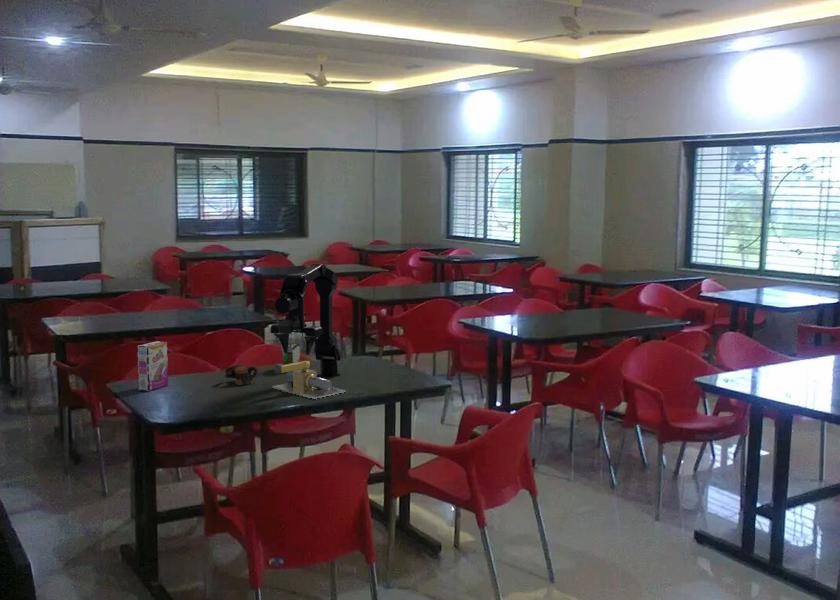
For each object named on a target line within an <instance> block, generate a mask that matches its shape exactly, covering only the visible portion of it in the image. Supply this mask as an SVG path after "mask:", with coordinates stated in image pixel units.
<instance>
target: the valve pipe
mask: <svg viewBox="0 0 840 600" xmlns="http://www.w3.org/2000/svg"><path fill="white" fill-rule="evenodd" d="M285 373H286V374H285V380H286V381H288V382H286V383H282V384H276V385H272V388H274V389H273V390H276V389H277V390H276V391H280V390H281V391H280V392H283V393H287V392H288V394H291V393H292V395H295V394H296V396H298V395H299V397H302V396H303V398H306V397H307V398H306V399H310V398H312V399H311V400H313V399H316V400H318V399H317V398H320V399H323V398H322V397H324V398H327V397H326V396H329V397H331V395H333V396H336V395H335V394H337V395H340V394H339V393H342V394H345V393H344V392H346V389H341V388H338V387H337V388H336V387H334V386H333V382H332V381H331V380H330V379H329V380H328V379H325V378H321V377H318V373H317V370H313V369H309V368H305V369H299V370H295V371H288V372H285Z"/></svg>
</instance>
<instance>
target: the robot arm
mask: <svg viewBox="0 0 840 600" xmlns="http://www.w3.org/2000/svg"><path fill="white" fill-rule="evenodd" d="M310 282H313V284H314V289H315V291H316V293H317V294H318V296H319V326H318V325H311V326H307V325H308V324H307V323H305V316H307V312H305V297H306V296H307V294H306V293H305V291H306V289H308V287H309V283H310ZM338 283H339V279H338V276H337V274H336V273H335V272H334V271H333V270H331V269H330V268H328V267H326V265H325V264H323V263H312V264H310V266H308V267H307V268H305V269H303V270H302V271H300V272H298V273H290V274H287V275H285V278H284V279H283V282H282V285H281V289H280V290H279V291H280V292H279V297H278V298H277V299H276V300H275V303H274V308H275V310H276V311H277V313H279V314H282V315H284V316H285V318H284V319H282V320H281V321H280V322H279V323H275V324H272V325H271V326H270V330H269V331H270V334H273V335H274V337H276V338H278V340H279V342H280V345H281V346H282V347H283V350H284V352H285V353H287V351H288V343H289V342H290V341H289V340H290V339H289V338H290V334H292V333H299V334H304V337H303V338H304V340H305V353H306V356H309V355H310V353H311V351H312V348H313V346H314V350H313V351H314V355H315V359H316V361H318V360H319V361H320V362H319V363H320V364H319V365H320V372H319V373H317V376H320V377H324V378H332V377H336V375H337V376H340V375H341V373H340V372H338V370H339V369H338V361H341V360H342V352H341V349H339V346H338V340H337V338H336V337H335V335H334V333H333V332H334V331H333V329H334V327H333V296H334V294H335V292H336V291H337V290H338V289H337V288H338ZM331 376H332V377H331Z"/></svg>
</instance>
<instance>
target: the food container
mask: <svg viewBox="0 0 840 600" xmlns="http://www.w3.org/2000/svg"><path fill="white" fill-rule="evenodd" d="M301 346H302V345H301V341H289V342H288V351H287V353H285V352H284V350H283V347H282V345H281V346H280V347H281V348H280V351H281V352H282V360H283V365H286V364H292V363H297V362H300V361H301ZM294 371H296V370H294Z"/></svg>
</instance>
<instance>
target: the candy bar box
mask: <svg viewBox="0 0 840 600" xmlns="http://www.w3.org/2000/svg"><path fill="white" fill-rule="evenodd" d="M136 348H137V350H136V351H137V379H138V380H137V381H138V391H142V392H148V391H149V392H151V390H152V391H155V390H158V389H161V388H164V387H166V385H167V386H168V385H169V367H168V365H169V363H168V362H169V361H168V360H169V359H168V342H167V341H152V342H149V343H144V344H140V345H137V347H136ZM163 386H164V387H163ZM160 387H161V388H160ZM157 388H158V389H157ZM154 389H155V390H154Z"/></svg>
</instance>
